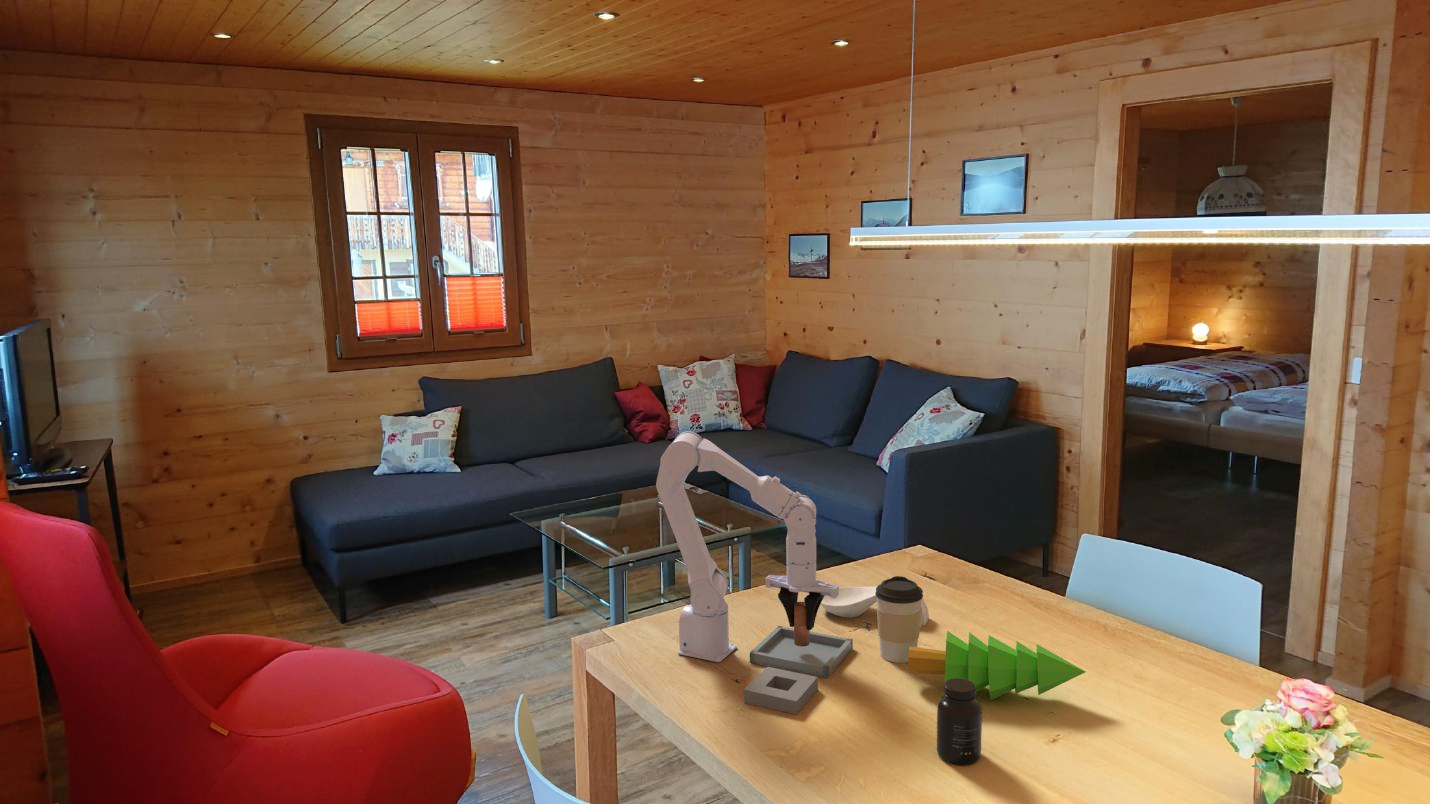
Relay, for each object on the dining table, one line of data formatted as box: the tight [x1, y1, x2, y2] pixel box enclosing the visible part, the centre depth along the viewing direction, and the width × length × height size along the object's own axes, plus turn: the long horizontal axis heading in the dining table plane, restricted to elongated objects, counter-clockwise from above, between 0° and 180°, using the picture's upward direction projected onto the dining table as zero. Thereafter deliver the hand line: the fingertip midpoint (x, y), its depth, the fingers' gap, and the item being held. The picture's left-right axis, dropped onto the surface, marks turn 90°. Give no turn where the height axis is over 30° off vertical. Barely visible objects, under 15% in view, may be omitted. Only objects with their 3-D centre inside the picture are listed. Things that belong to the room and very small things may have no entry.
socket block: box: [743, 666, 819, 716], centre depth 170 cm, size 10×10×2 cm
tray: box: [749, 625, 854, 679], centre depth 186 cm, size 16×14×2 cm
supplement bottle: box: [936, 678, 983, 767], centre depth 149 cm, size 7×7×12 cm
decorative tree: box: [907, 630, 1087, 701], centre depth 168 cm, size 11×12×30 cm
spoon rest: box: [820, 585, 930, 627], centre depth 205 cm, size 24×12×7 cm, turn 68°
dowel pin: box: [793, 601, 811, 647], centre depth 185 cm, size 3×3×8 cm
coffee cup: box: [875, 575, 924, 664], centre depth 185 cm, size 9×9×15 cm
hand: (801, 626), depth 186 cm, fingers closed on dowel pin, 3 cm apart
